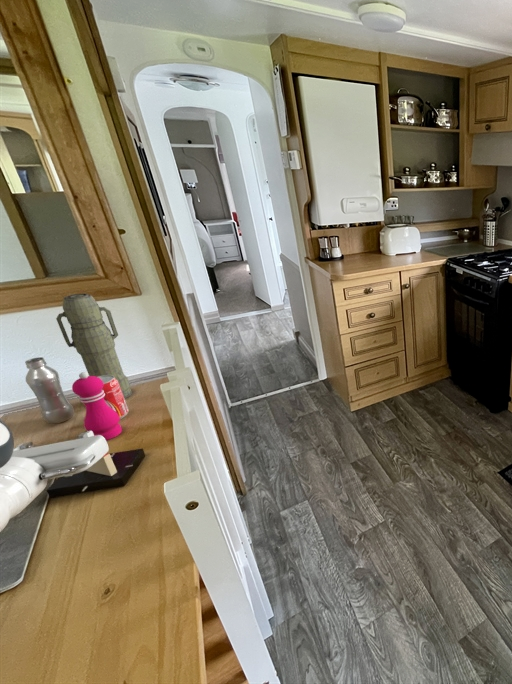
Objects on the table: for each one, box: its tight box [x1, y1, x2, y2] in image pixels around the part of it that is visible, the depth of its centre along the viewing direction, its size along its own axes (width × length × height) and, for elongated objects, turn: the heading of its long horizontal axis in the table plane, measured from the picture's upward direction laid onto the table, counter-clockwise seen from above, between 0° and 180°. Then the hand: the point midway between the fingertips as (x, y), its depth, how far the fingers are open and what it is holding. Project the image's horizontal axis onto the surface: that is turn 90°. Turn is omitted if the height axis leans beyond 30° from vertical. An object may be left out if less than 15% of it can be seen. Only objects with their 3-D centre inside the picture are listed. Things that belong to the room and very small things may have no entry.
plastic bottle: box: [24, 357, 75, 424], centre depth 109 cm, size 6×7×20 cm
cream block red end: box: [86, 452, 117, 476], centre depth 89 cm, size 9×1×6 cm, turn 77°
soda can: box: [98, 375, 130, 420], centre depth 112 cm, size 7×7×13 cm
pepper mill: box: [71, 371, 123, 441], centre depth 103 cm, size 7×7×20 cm
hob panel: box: [46, 448, 146, 499], centre depth 91 cm, size 15×14×3 cm
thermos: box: [55, 293, 133, 400], centre depth 119 cm, size 9×12×35 cm
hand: (59, 439), depth 75 cm, fingers open, 8 cm apart
